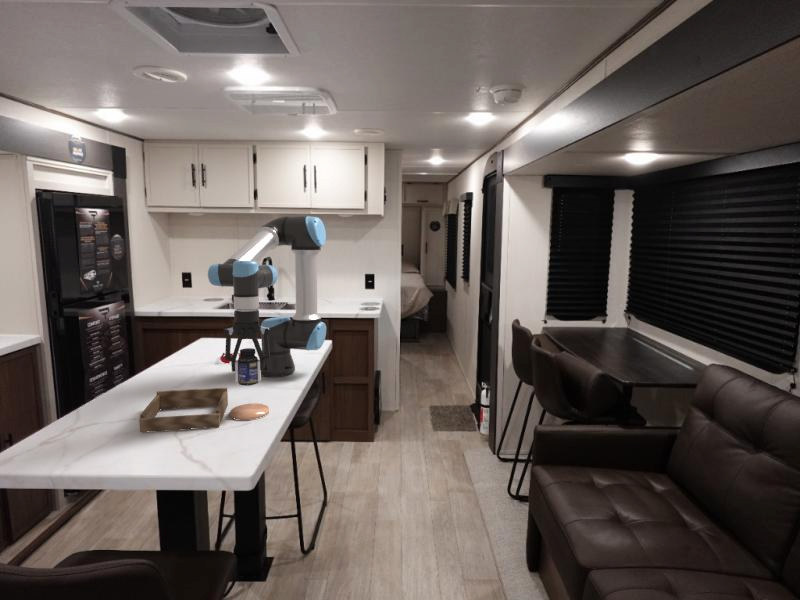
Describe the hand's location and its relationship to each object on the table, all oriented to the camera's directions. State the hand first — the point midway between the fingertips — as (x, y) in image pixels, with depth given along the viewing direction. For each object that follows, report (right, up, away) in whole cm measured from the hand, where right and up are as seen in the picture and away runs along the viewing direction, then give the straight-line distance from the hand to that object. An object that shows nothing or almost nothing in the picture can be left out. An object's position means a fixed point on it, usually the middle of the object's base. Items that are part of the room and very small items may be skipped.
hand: (248, 380), depth 156 cm
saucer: (0, -11, +2) cm, 11 cm away
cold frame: (-19, -11, -2) cm, 22 cm away
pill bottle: (0, -1, 0) cm, 1 cm away
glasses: (-26, -2, +69) cm, 74 cm away
